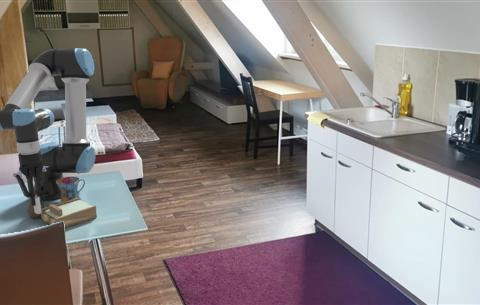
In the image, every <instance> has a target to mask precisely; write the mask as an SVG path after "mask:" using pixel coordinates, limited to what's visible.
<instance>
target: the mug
mask: <svg viewBox="0 0 480 305" xmlns="http://www.w3.org/2000/svg"><path fill="white" fill-rule="evenodd" d="M63 177H64V178H60V179H58V180H57V181H56V183H57V185H58V186H59V188H60V191H61V198H60V202H59V203H62V202H65V201H69V200H72V199H75V198H79V200H81V201H82V199H81V198H80V196H79V195H80V192H81V191H82V190H83V188H84V187H85V185H86V181H85V180H84V179H83V178H82V179H80V177H78V176H63ZM80 181H83V185H82V186H81V187H80V189H79V188H78V186H79V183H80Z"/></svg>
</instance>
